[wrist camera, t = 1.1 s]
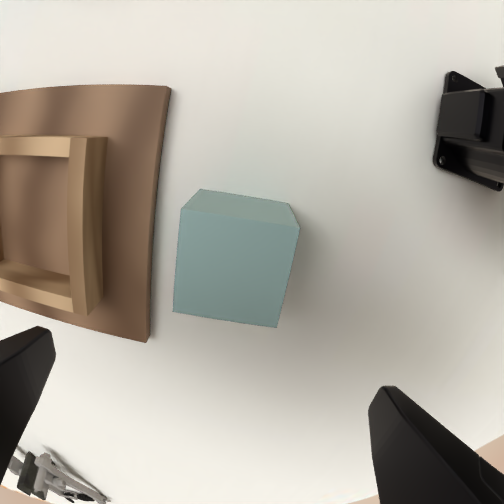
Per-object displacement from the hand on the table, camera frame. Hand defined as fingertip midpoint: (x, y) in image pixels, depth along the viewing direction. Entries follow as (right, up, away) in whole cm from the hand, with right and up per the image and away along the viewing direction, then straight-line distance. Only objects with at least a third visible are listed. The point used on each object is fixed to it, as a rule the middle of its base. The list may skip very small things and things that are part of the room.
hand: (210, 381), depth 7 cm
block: (0, +4, +11) cm, 12 cm away
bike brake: (-28, -31, +25) cm, 49 cm away
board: (-13, +6, +11) cm, 17 cm away
